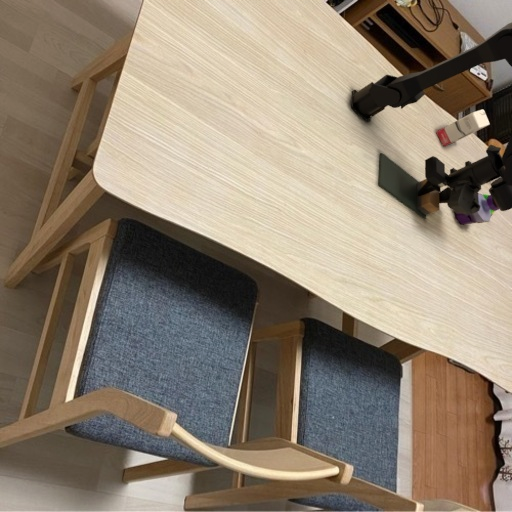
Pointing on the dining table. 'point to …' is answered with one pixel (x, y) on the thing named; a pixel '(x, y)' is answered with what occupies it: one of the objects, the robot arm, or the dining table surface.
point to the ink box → (463, 127)
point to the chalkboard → (398, 183)
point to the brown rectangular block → (427, 200)
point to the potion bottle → (479, 212)
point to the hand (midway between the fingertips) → (423, 198)
